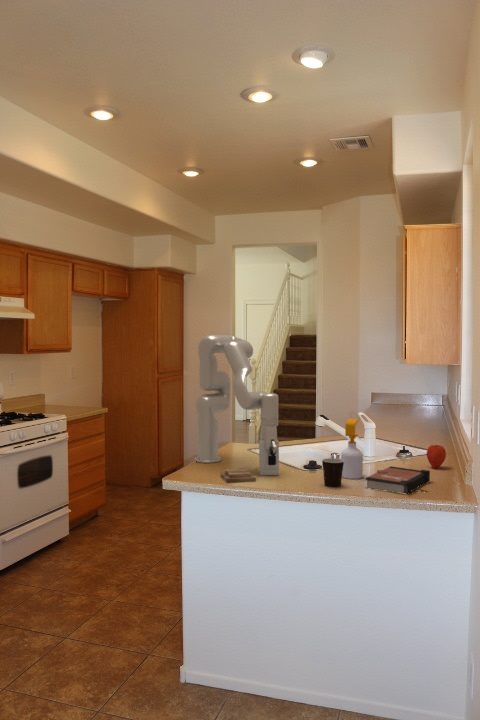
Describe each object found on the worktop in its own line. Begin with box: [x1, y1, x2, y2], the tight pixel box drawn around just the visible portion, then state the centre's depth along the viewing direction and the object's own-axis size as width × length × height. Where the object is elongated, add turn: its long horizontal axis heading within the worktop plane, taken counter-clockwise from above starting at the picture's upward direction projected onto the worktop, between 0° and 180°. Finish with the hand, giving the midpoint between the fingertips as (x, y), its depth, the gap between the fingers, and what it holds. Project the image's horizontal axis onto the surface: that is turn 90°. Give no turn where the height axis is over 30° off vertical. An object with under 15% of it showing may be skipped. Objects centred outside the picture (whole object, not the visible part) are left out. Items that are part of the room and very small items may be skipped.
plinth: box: [220, 468, 257, 484], centre depth 246 cm, size 12×12×3 cm
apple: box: [426, 444, 447, 469], centre depth 270 cm, size 9×8×11 cm
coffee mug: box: [321, 457, 344, 488], centre depth 235 cm, size 12×9×10 cm
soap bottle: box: [340, 417, 364, 480], centre depth 251 cm, size 9×9×25 cm
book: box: [365, 465, 431, 495], centre depth 239 cm, size 26×18×5 cm
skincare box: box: [258, 438, 280, 476], centre depth 255 cm, size 8×6×15 cm
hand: (268, 462), depth 255 cm, fingers open, 7 cm apart
